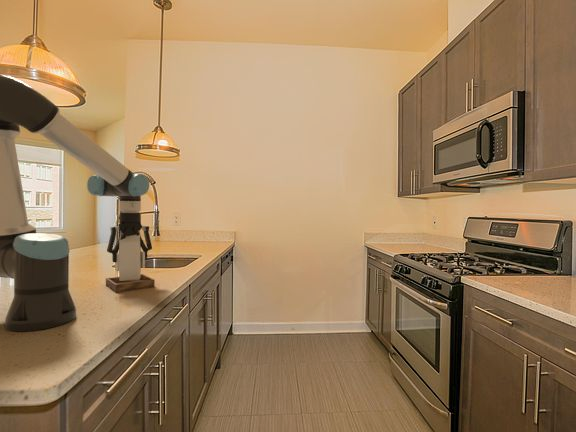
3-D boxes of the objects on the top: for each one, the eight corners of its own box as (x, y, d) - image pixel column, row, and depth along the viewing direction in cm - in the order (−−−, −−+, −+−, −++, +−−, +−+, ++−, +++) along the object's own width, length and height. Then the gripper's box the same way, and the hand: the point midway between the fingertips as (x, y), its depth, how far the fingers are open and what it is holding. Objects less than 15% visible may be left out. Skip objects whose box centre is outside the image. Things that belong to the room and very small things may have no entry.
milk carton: (139, 280, 124) (139, 231, 124) (119, 281, 122) (119, 232, 121) (140, 276, 131) (140, 230, 130) (121, 277, 128) (121, 230, 128)
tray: (115, 292, 116) (115, 284, 116) (105, 285, 127) (105, 278, 127) (154, 286, 126) (154, 279, 126) (142, 280, 136) (142, 273, 136)
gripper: (102, 212, 116) (102, 274, 116) (161, 212, 130) (161, 267, 131) (97, 211, 121) (97, 270, 122) (154, 212, 136) (154, 264, 136)
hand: (130, 269), depth 126 cm, fingers closed on milk carton, 9 cm apart
